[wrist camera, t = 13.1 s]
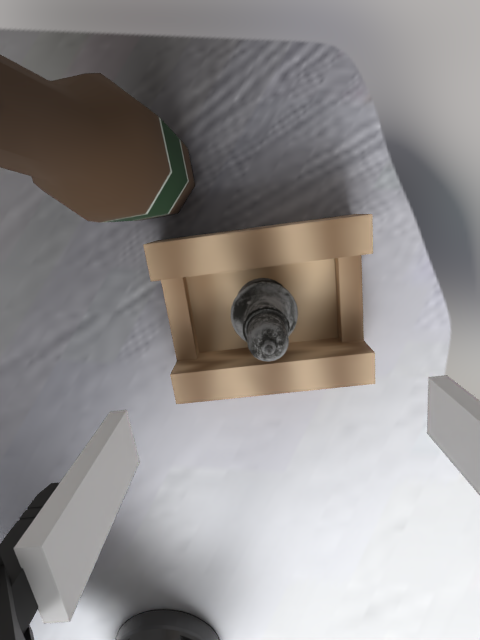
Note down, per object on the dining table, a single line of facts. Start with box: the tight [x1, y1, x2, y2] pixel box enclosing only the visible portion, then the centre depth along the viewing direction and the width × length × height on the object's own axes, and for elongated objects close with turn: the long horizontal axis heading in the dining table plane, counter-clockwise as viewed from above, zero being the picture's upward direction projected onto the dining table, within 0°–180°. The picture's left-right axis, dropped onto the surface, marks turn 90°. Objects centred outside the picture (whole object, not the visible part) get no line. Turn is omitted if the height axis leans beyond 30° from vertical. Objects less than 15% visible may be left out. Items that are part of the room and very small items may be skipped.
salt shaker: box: [231, 278, 298, 362], centre depth 28 cm, size 6×6×12 cm
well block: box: [144, 214, 375, 404], centre depth 32 cm, size 18×14×6 cm
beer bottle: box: [0, 55, 195, 223], centre depth 20 cm, size 8×8×24 cm
